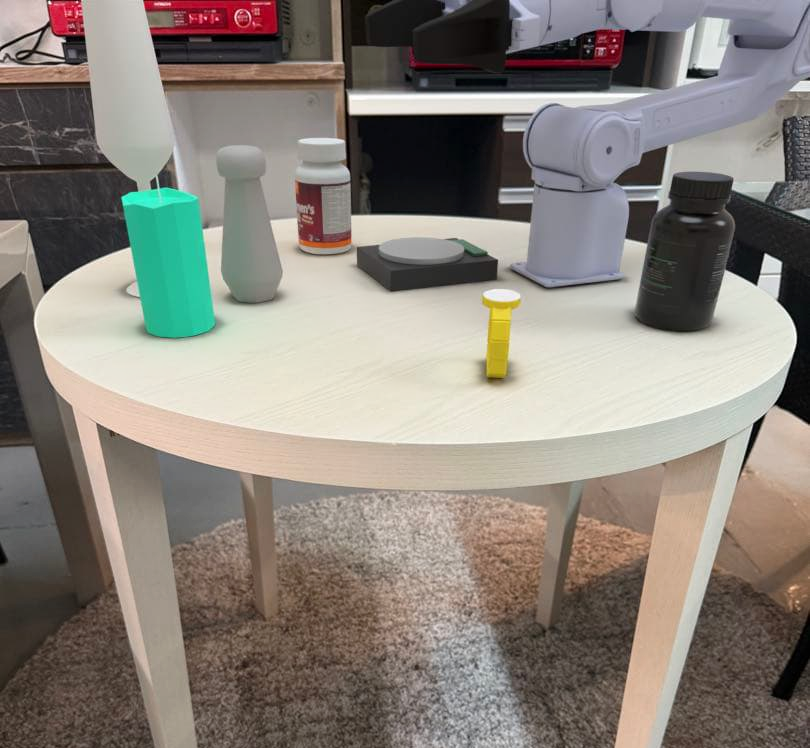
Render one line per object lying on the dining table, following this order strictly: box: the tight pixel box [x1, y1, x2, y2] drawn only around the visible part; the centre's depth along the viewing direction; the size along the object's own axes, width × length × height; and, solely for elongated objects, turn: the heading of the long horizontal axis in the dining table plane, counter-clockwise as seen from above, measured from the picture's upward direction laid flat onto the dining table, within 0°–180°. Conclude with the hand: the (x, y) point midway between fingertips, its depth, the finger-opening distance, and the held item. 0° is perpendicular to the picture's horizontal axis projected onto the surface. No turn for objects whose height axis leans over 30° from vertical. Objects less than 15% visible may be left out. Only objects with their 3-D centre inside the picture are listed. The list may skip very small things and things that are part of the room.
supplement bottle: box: [634, 171, 736, 332], centre depth 66 cm, size 7×7×12 cm
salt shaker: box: [215, 144, 284, 304], centre depth 70 cm, size 6×6×13 cm
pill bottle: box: [294, 137, 353, 255], centre depth 85 cm, size 6×6×11 cm
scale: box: [356, 236, 499, 292], centre depth 80 cm, size 12×10×3 cm
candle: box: [121, 175, 216, 339], centre depth 63 cm, size 6×6×12 cm
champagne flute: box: [80, 0, 176, 298], centre depth 68 cm, size 7×7×24 cm
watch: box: [481, 288, 522, 379], centre depth 57 cm, size 6×3×6 cm, turn 175°
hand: (390, 38), depth 60 cm, fingers open, 7 cm apart
